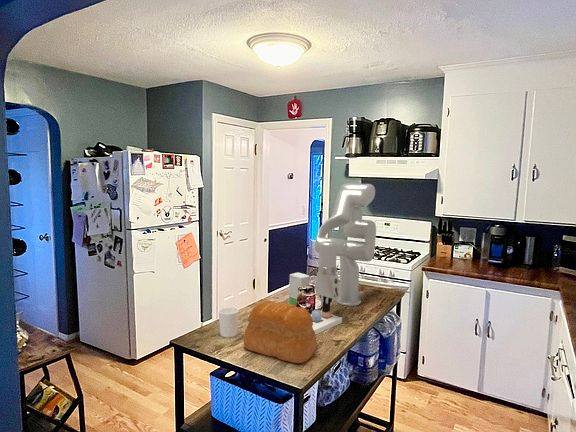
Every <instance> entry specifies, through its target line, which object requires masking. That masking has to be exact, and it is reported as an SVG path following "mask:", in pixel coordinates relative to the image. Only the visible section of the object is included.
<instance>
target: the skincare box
mask: <svg viewBox="0 0 576 432" xmlns="http://www.w3.org/2000/svg"><path fill="white" fill-rule="evenodd" d="M310 281H311V275H308V274H305V273H302V272H298V271H297V272H294V273H290V274H289V283H288V285H289V286H288V302H287V304H292V305H294V306H296V301H297V294H298V288H299V287H301V286H306V285H309V286H310Z"/></svg>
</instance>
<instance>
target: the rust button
mask: <svg viewBox="0 0 576 432" xmlns="http://www.w3.org/2000/svg"><path fill="white" fill-rule="evenodd" d="M321 311H322V310H321ZM331 314H332V311H331V310H330V311H329V312H326V313H325V312H323V311H322V318H325V319H329V318H331Z"/></svg>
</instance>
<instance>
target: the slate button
mask: <svg viewBox="0 0 576 432" xmlns="http://www.w3.org/2000/svg"><path fill="white" fill-rule="evenodd" d="M321 311H322V310H318V309H315V310H312V311H311V314H312V320H313V322H315V323H319V322H321Z"/></svg>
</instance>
